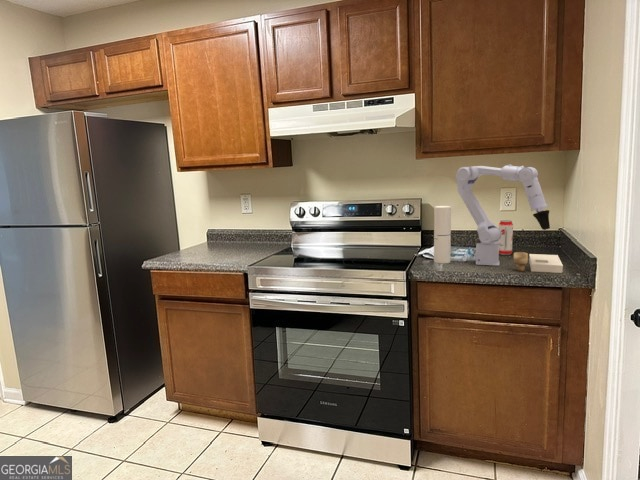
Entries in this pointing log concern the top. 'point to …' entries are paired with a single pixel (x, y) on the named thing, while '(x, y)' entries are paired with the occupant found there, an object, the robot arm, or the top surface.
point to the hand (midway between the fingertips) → (546, 229)
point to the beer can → (506, 237)
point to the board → (545, 263)
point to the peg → (520, 260)
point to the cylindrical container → (442, 234)
